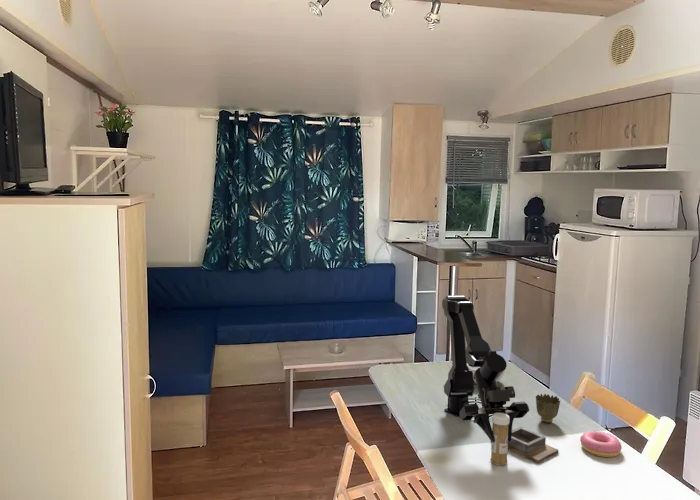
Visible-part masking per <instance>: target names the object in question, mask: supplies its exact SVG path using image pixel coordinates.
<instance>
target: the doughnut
mask: <svg viewBox="0 0 700 500" xmlns="http://www.w3.org/2000/svg"><path fill="white" fill-rule="evenodd" d="M579 441H580V445H581V447H582V449H584V450H585V451H586V452H588V453H590V454H592V455H594V456H598V457H601V458H613V457H617V456H618V455H619V454H620V453H621V451H622V449H623V447H622V443H621V441H620V440H619V438H617V437H616V436H614V435H612V434H611V433H606V432H605V431H599V430H598V431H596V430H593V431H592V430H589V431H587V432H584V433H583V434H582V435H581V436H580V437H579Z"/></svg>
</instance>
